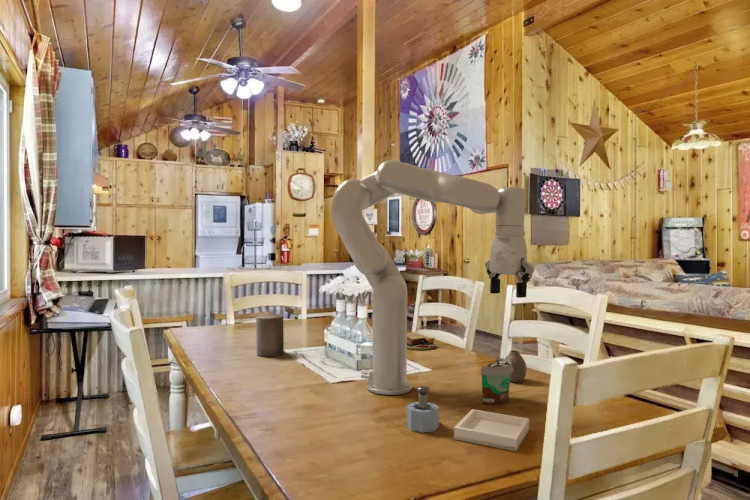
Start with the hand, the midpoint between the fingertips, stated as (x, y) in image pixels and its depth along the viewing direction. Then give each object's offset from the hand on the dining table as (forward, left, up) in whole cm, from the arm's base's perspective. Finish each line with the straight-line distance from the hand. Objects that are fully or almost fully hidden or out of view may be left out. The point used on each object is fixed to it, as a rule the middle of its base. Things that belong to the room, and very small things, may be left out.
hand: (507, 295), depth 141 cm
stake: (-10, -35, -27) cm, 45 cm away
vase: (0, +12, -27) cm, 29 cm away
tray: (+5, -32, -27) cm, 42 cm away
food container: (+1, -9, -27) cm, 28 cm away
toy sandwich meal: (-44, +41, -27) cm, 65 cm away
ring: (-10, -35, -27) cm, 45 cm away
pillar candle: (-85, +4, -27) cm, 90 cm away
